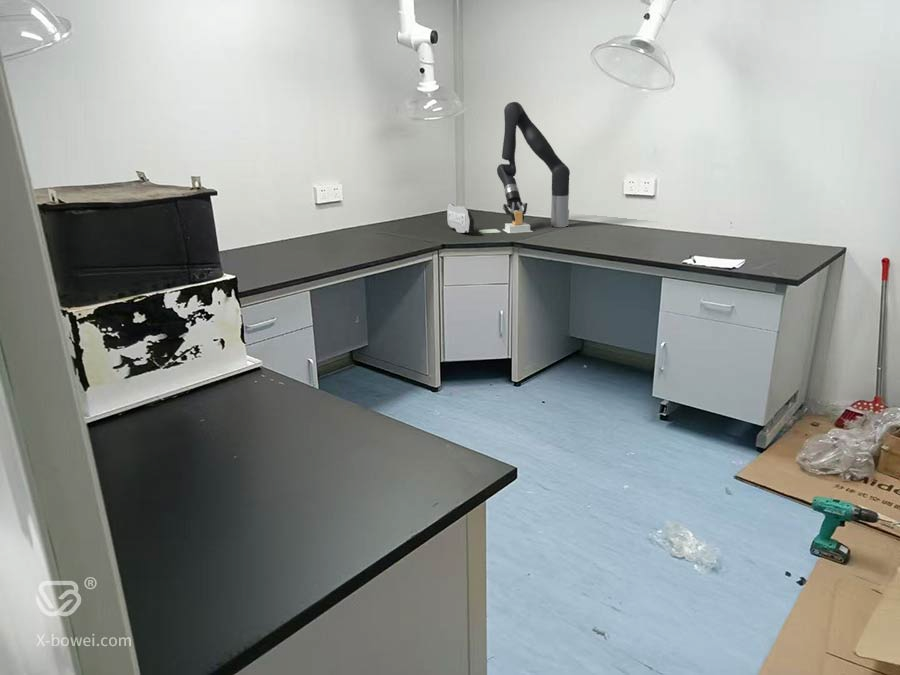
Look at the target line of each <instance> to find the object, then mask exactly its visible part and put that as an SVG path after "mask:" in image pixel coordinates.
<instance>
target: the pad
mask: <svg viewBox="0 0 900 675" xmlns="http://www.w3.org/2000/svg"><path fill="white" fill-rule="evenodd" d="M478 232H479V234H482V235H483V236H484V235H485V234H493V233H495V234H498V233H501V230H498V229H497V228H492V229H491V228H490V229H478Z"/></svg>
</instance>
